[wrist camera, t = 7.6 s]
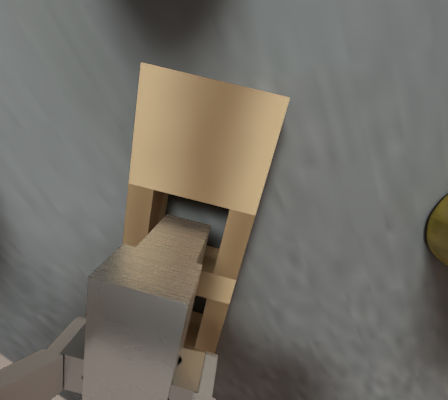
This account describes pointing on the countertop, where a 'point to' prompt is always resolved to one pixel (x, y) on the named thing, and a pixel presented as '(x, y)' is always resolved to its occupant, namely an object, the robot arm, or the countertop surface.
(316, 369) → the countertop surface
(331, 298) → the countertop surface
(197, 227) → the grey concrete brick
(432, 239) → the vase
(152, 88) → the flat wooden block
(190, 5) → the countertop surface
